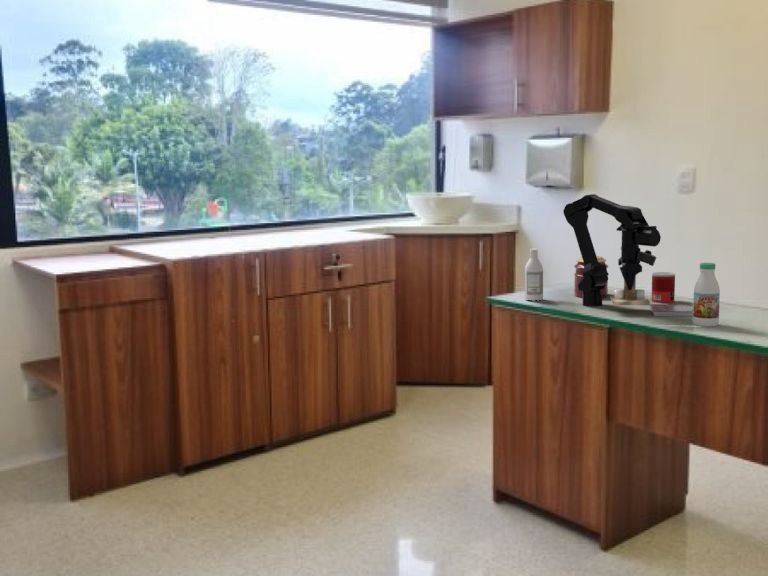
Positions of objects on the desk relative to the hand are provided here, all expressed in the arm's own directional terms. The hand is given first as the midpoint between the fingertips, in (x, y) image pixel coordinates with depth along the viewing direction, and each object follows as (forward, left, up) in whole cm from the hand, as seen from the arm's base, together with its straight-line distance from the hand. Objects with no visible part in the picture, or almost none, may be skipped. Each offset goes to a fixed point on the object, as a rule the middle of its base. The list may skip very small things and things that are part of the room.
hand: (629, 289), depth 267 cm
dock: (+14, 0, -9) cm, 16 cm away
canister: (-11, +35, -9) cm, 38 cm away
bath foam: (-33, +25, -9) cm, 42 cm away
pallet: (0, 0, -5) cm, 5 cm away
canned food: (+14, +20, -9) cm, 26 cm away
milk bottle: (+22, -17, -9) cm, 29 cm away
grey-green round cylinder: (+4, 0, -3) cm, 5 cm away
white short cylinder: (-3, 0, -3) cm, 5 cm away
